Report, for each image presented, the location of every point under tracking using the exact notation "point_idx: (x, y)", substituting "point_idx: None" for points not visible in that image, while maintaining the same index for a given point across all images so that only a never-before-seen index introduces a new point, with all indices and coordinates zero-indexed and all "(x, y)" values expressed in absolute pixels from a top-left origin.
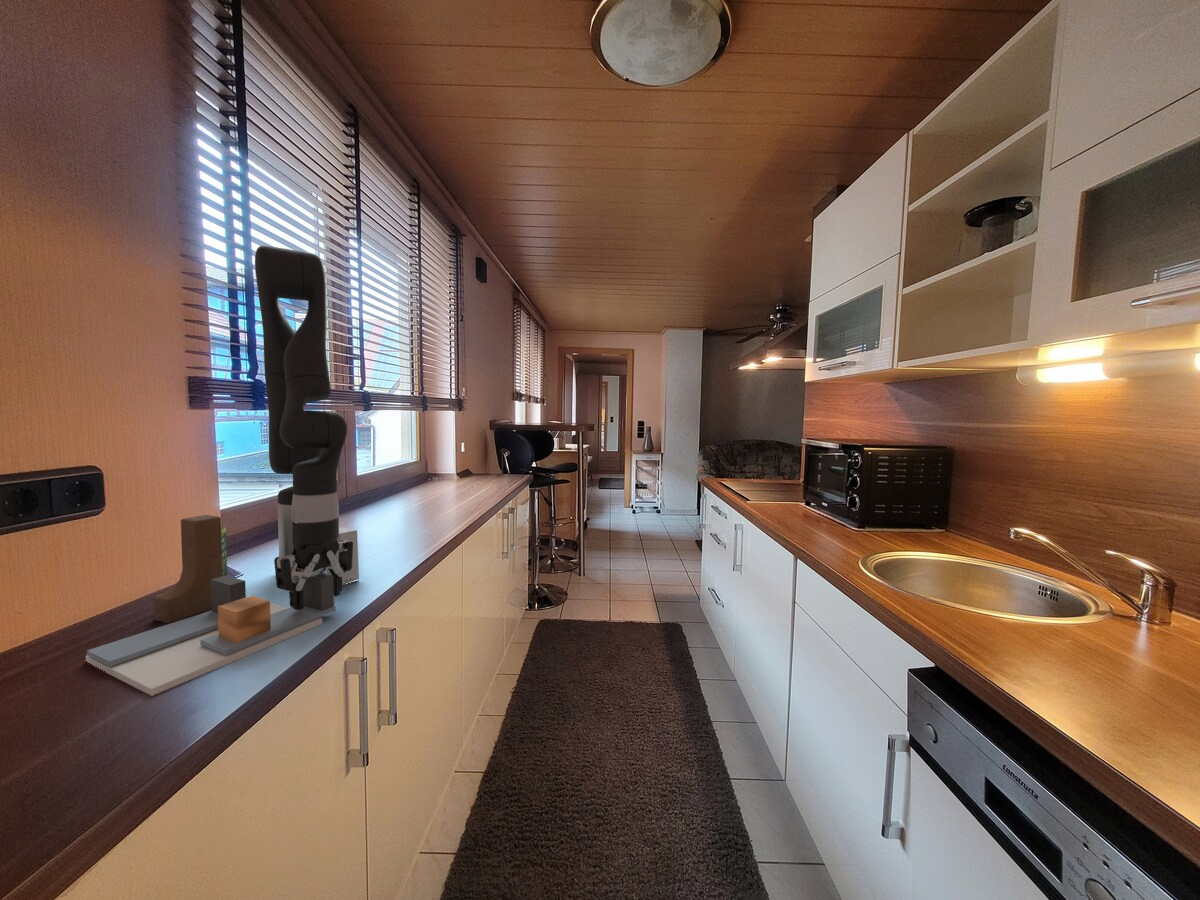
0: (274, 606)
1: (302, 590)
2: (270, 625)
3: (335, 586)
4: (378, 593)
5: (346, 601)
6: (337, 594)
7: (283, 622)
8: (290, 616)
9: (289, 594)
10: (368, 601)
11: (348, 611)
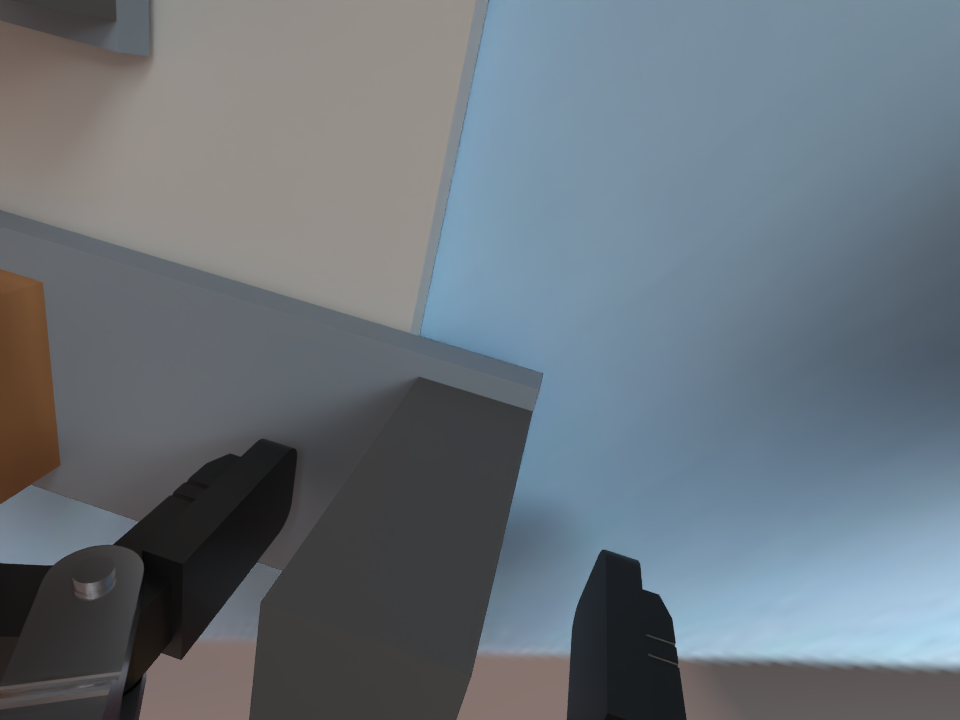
0: (426, 53)
1: (173, 654)
2: (35, 480)
3: (574, 684)
4: (953, 653)
5: (753, 510)
6: (574, 632)
7: (151, 470)
8: (231, 450)
9: (132, 529)
10: (765, 647)
11: (571, 603)
